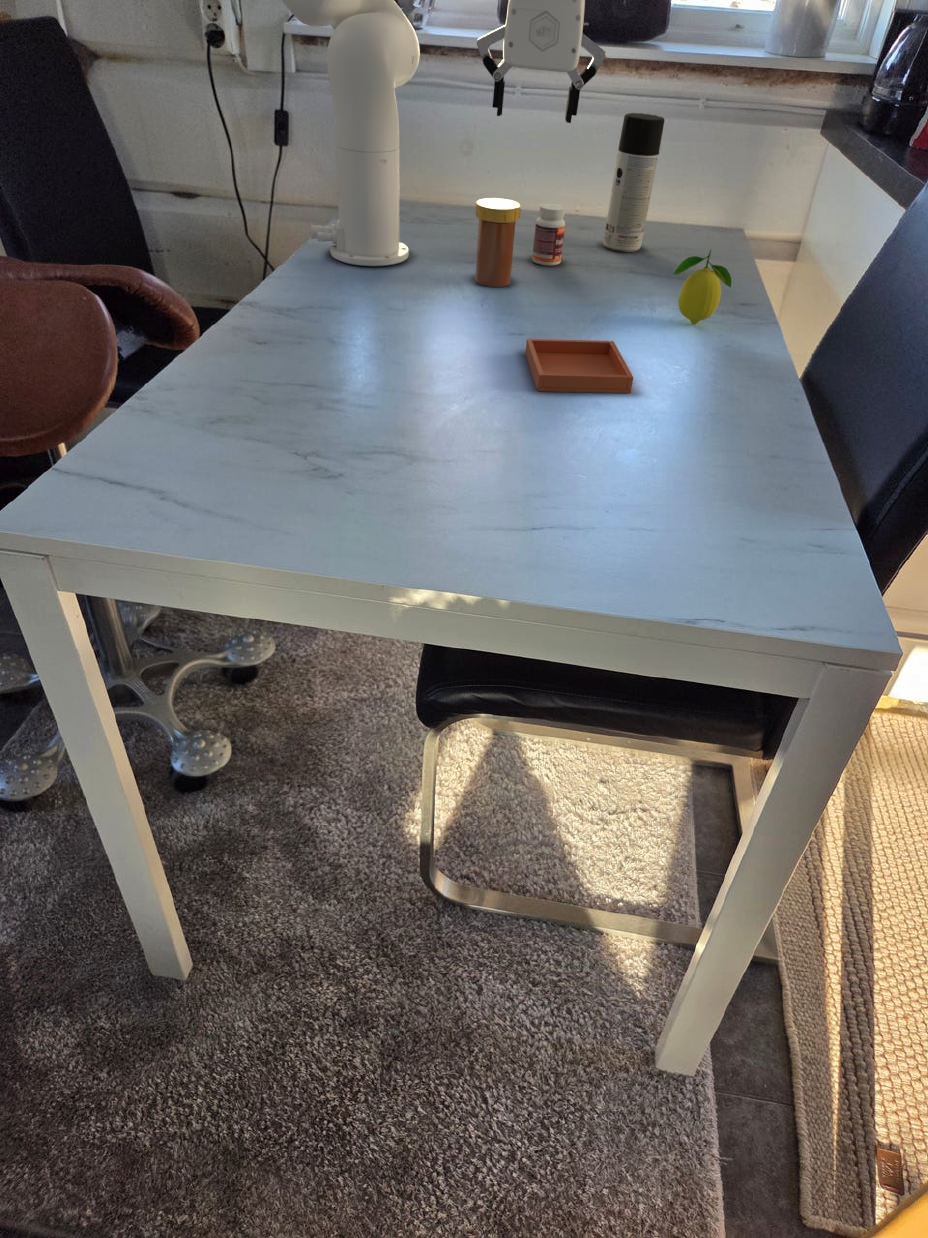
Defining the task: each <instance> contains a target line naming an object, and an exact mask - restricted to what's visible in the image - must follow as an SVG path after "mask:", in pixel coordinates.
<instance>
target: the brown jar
mask: <svg viewBox="0 0 928 1238" xmlns="http://www.w3.org/2000/svg"><path fill="white" fill-rule="evenodd" d="M516 222H517V221H515V222H509V223H496V222H488V221H484V220H481V219H479V218H478V227H477V228H478V229H477V243H476V244H477V245H476V247H477V248H476V261H475V277H474V280H475V282H476V283H477V284H478V285H480V286H483V287H489V288H503V287H507V286H509V285H510V284H511V279H512V267H513V257H514V246H515V245H514V244H515V234H516Z"/></svg>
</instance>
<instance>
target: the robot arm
mask: <svg viewBox="0 0 928 1238" xmlns="http://www.w3.org/2000/svg"><path fill="white" fill-rule="evenodd" d="M281 1H282V2H283V4H284V5H285V6H286V8H287V9H288V10H289V12H290V13H291V14H292V15H293V16H294V17H295V18H296V19H297V20H298V21H299V22H300V23H301V24H303V25H307V26H309V27H314V28H315V27H317V28H318V27H319V28H320V27H331V28H332V29H333V31H332V33H331V35H330V38H329V41H328V44H327V51H326V52H327V53H326V68H327V76H328V81H329V88H330V93H331V99H332V108H333V118H334V137H335V139H334V140H335V157H336V160H335V161H336V182H337V183H336V184H337V206H338V211H337V212H338V218H337V221H336V223H335V224H333V223H331V224H330V226H323V225H310V236H311V237H310V238H311V239H312V240H313V239H314V240H315V239H317V242H323V243H325V242H326V243H327V242H332V243H331V244H330V247H329V251H330V252H329V253H330V255H331V257H332V258H334V259H335V260H337V261H339V262H342V263H345V264H349V265H353V266H362V267H385V266H386V267H387V266H391V265H392V266H393V265H396V264H397V265H398V264H400V263H403V262H405V261H406V260H407V259H408V258H409V256H410V250H409V247H408V245H406V244H405V243H403V242H401V241H400V176H401V175H400V163H401V161H400V153H401V152H400V120H399V110H398V104H397V98H396V97H397V96H396V89H397V88H399V87H401V86H403V85H405V84H406V83H408V82H409V81H410V80H411V79H412V78H413V76H414V75H415V73H416V71H417V70H418V66H419V63H420V43H419V40H418V39H419V38H418V36H417V32H416V31H415V28H414V27H413V25H412V24H411V22H410V20H409V18H408V17H407V16H406V14H405V13H404V12H403V10H402V9H401V7H400V6H399V5H398V4H397V2H396V1H395V0H281ZM507 3H508V4H507V10H506V11H507V12H506V19H505V24H504V25H502V26H501V27H499V28H495V30H492V31H490V32H488V33H486V34H484V35H483V36H481V37H479V38H478V39H477V40H476V47H477V49H478V52H479V55H480V57H481V61H482V64H483V66H484V68H485V69H486V70H487V72H488V73H489V74H490V76H491V78H492V79H493V81H494V82H493V95H492V96H493V97H492V108H494V109H496V117H501V116H503V107H504V97H505V96H504V95H505V87H506V86H505V85H506V80H504V79H505V76H506V74H508V72H509V71H510V70H511V68H518V69H526V70H537V71H545V72H546V71H547V72H558V73H566V74H567V75H568V77H569V78H570V81H571V83H570V86H569V87H568V91H567V100H566V107H565V114H564V119H565V120H564V121H565V122H566V123H567V124H572V118H573V116H577V115H578V108H579V101H580V94H581V90H582V89H583V87H584V86H585V85H586V84H587V83H588V82H589V81H591V80H592V79H593V78H594V77H595V76H596V74H597V72H598V70H599V69H600V67H601V66H602V65H603V63H604V61H605V59H606V57H607V52H606V51H605V50H604V49H603V48H602V47H601V46H599V44H597V43H596V42H594V41H593V40H592V39H590V38H589V37H588V36H587V35H585V33H584V32H583V30H584V21H585V20H584V19H585V9H586V8H585V7H586V0H508V2H507ZM501 40H503V44H502V58H503V59H502V60H501V62H500V63H499V64H497V63H496V61H495V60H494V58H493V57H492V55H491V52H490V47H491V45H494V44H496V43H497V42H500V41H501ZM581 48H583V49H584V51H586V52H587V53H589V54H590V55H591V56H592V59H591V61H590V63H589V65H588V66H587V67H586V68H585V69H583V71H581V73H579V71H578V69H577V67H578V64H579V61H580V56H581Z"/></svg>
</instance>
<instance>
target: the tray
mask: <svg viewBox="0 0 928 1238" xmlns="http://www.w3.org/2000/svg"><path fill="white" fill-rule="evenodd" d="M525 343H526V344H525V351H524V352H525V353H524V355H525V358H526V360H527V363H528V365H529V366H528V367H529V370H530V372H531V373H530V374H531V376H532V379H533V382H534V385H535V388H536V390H537V392H556V393H557V392H559V393H562V392H563V393H601V394H602V393H604V394H631V393H632V388H633V384H634V383H633V382H634V376H633V373H632V372H631V370H630V368H629V367H628V365H627V362H626V361H625V359H624V356H622V353H621V352H620V349H618V346H617V345H616V343H615V341H614V340H591V339H590V340H589V339H588V340H586V339H555V338H554V339H552V338H526V341H525Z"/></svg>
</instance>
